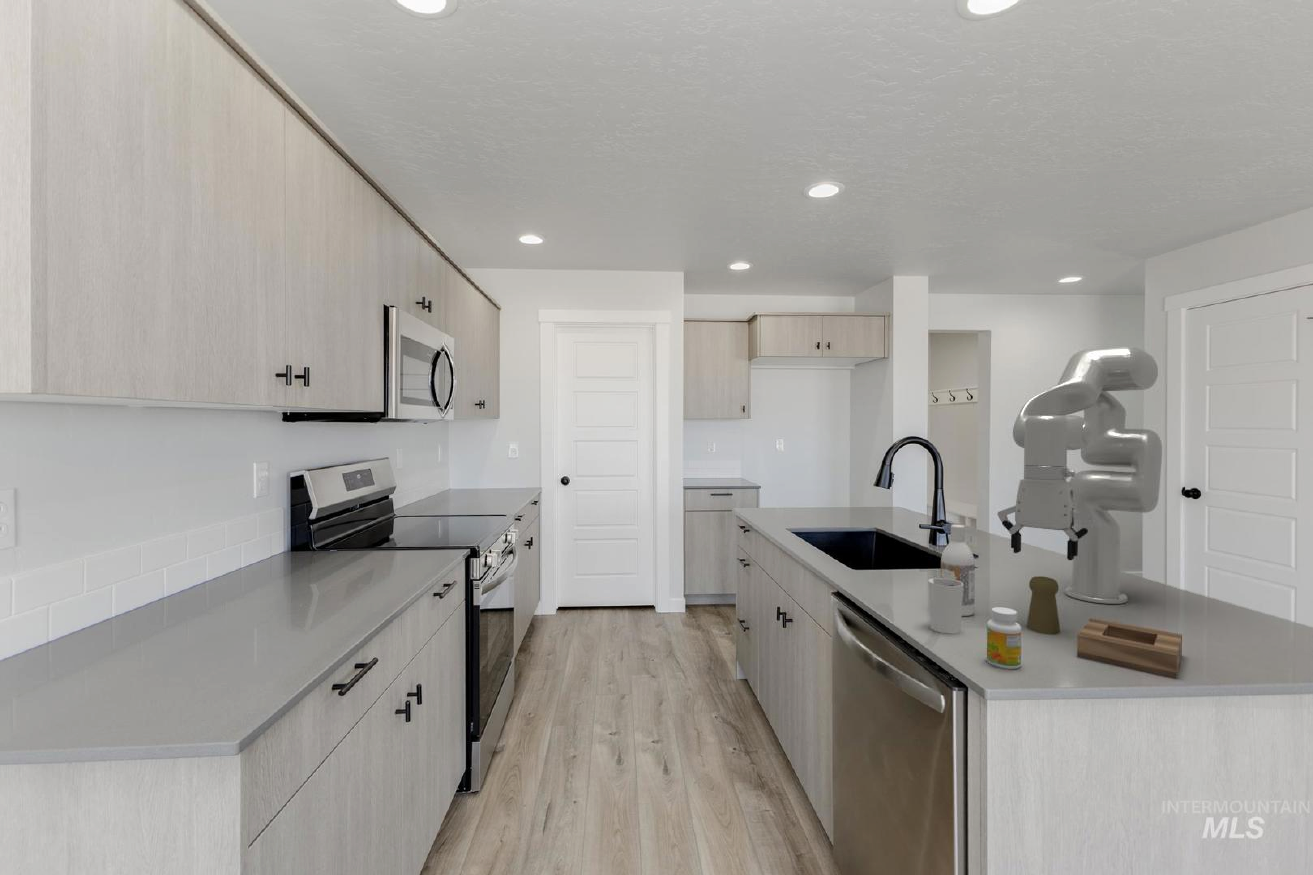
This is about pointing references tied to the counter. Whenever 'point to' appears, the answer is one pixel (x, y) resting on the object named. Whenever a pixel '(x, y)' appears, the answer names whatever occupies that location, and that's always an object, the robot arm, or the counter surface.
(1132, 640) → the socket block
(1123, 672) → the counter surface
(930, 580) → the white cylindrical cup
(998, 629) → the supplement bottle
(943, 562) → the bath foam
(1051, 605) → the olive brown peg
